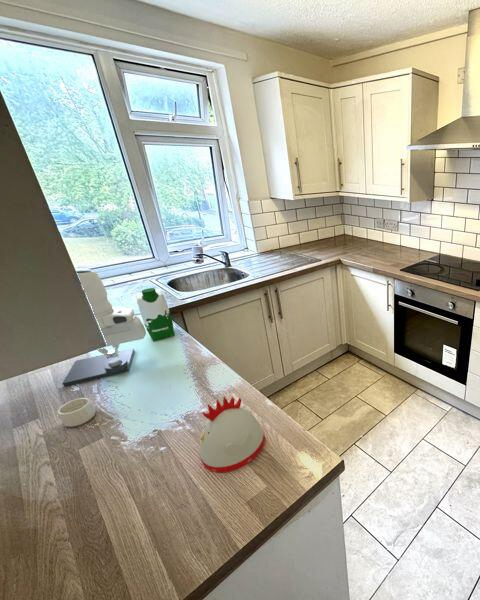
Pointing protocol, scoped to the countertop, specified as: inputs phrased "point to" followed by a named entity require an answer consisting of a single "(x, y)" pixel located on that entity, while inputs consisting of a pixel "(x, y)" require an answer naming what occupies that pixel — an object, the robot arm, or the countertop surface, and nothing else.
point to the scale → (98, 368)
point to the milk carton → (155, 313)
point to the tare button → (114, 362)
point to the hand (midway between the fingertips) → (113, 356)
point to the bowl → (76, 412)
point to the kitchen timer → (229, 437)
